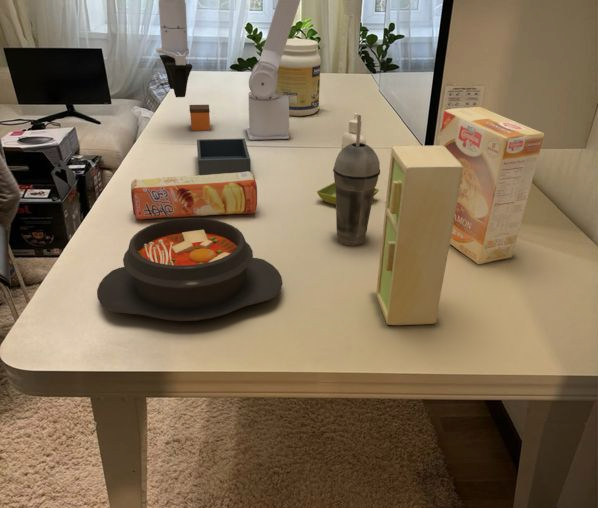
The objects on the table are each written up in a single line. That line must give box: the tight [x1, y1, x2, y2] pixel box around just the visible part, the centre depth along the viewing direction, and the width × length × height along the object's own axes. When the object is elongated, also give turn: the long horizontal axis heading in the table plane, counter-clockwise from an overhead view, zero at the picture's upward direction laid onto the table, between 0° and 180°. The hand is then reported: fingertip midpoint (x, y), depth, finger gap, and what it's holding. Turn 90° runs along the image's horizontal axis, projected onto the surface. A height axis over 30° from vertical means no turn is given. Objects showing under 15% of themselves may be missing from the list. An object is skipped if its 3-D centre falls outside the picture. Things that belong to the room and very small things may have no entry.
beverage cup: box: [332, 114, 381, 246], centre depth 92 cm, size 7×7×20 cm
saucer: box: [316, 181, 380, 206], centre depth 111 cm, size 9×9×2 cm
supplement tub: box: [276, 38, 322, 117], centre depth 157 cm, size 12×12×17 cm
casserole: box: [96, 217, 283, 322], centre depth 80 cm, size 25×19×8 cm
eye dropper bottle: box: [341, 112, 367, 150], centre depth 120 cm, size 4×6×12 cm
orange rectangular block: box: [189, 104, 211, 132], centre depth 145 cm, size 5×4×5 cm
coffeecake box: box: [438, 106, 545, 265], centre depth 93 cm, size 15×7×20 cm, turn 23°
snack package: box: [130, 171, 258, 220], centre depth 103 cm, size 21×7×7 cm, turn 100°
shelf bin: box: [196, 137, 252, 175], centre depth 123 cm, size 10×13×4 cm
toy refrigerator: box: [375, 145, 463, 326], centre depth 75 cm, size 8×7×21 cm
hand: (177, 92), depth 138 cm, fingers open, 7 cm apart
